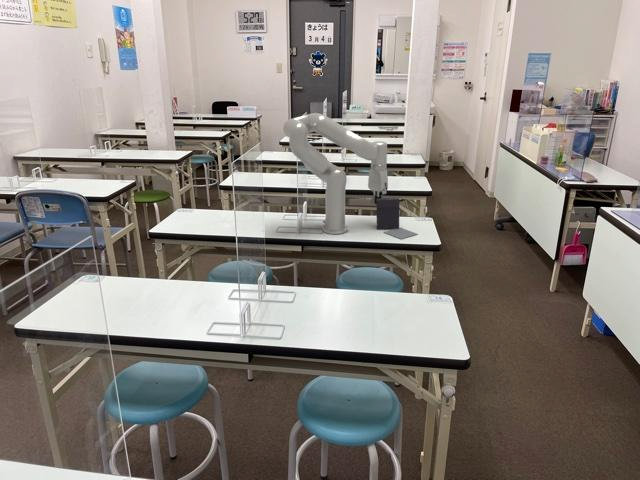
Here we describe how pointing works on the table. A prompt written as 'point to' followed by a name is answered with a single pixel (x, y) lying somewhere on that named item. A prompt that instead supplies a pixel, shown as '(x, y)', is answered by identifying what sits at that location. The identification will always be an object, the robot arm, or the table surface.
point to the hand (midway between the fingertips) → (377, 203)
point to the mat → (400, 233)
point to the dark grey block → (387, 213)
